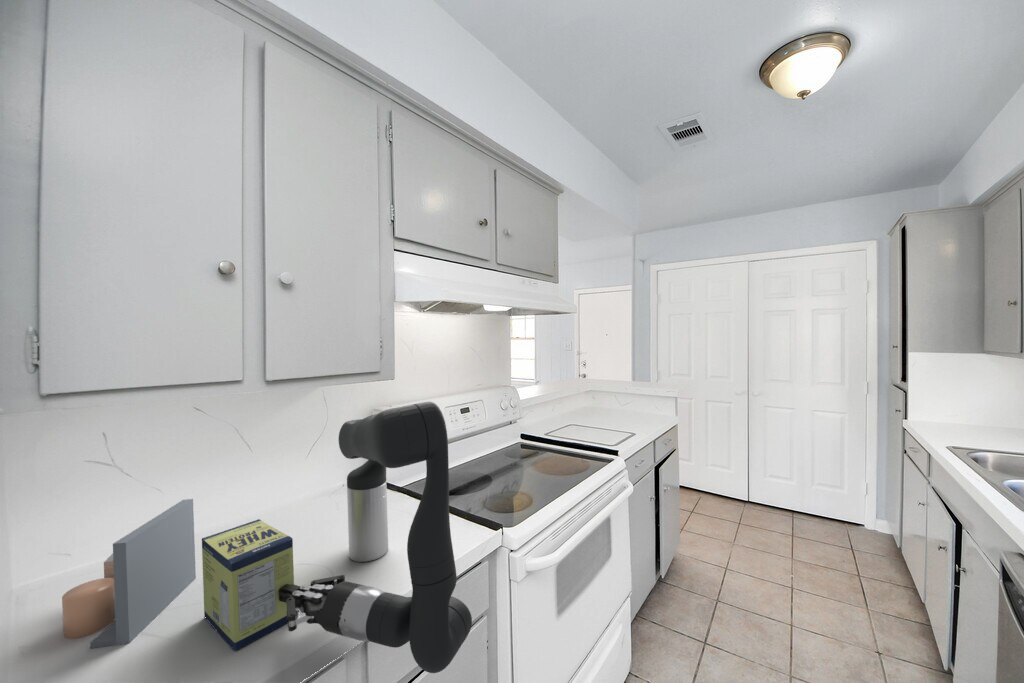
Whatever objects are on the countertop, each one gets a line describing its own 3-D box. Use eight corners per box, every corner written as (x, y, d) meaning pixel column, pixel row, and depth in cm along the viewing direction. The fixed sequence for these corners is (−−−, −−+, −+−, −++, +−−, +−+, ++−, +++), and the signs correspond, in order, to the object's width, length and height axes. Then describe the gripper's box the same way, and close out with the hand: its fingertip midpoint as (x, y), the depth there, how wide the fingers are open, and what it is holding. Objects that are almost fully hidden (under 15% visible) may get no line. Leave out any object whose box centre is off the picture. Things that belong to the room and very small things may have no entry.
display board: (165, 581, 91) (162, 501, 91) (195, 578, 92) (192, 498, 92) (90, 648, 72) (86, 546, 72) (129, 643, 73) (125, 542, 73)
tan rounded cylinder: (85, 615, 81) (83, 580, 81) (125, 610, 82) (124, 575, 82) (51, 641, 74) (50, 603, 74) (96, 635, 75) (95, 597, 75)
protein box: (261, 590, 87) (258, 517, 87) (297, 618, 78) (294, 537, 78) (202, 617, 79) (199, 537, 79) (234, 653, 70) (231, 562, 70)
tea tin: (116, 592, 88) (114, 551, 88) (146, 586, 90) (144, 545, 90) (105, 606, 83) (103, 562, 83) (137, 599, 85) (135, 556, 85)
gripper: (381, 568, 76) (309, 553, 82) (327, 614, 64) (247, 592, 70) (382, 608, 76) (311, 590, 82) (328, 661, 64) (248, 636, 70)
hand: (282, 591), depth 76 cm, fingers closed
